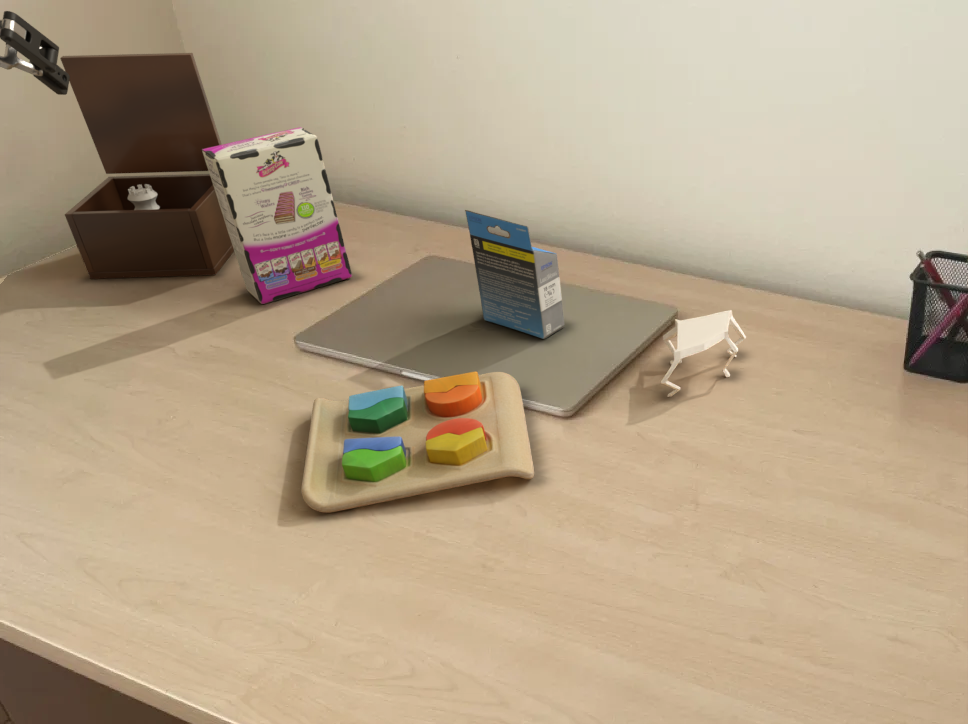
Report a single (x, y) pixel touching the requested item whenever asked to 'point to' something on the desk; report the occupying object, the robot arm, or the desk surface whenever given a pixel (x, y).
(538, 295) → the tape cartridge
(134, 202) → the rook chess piece
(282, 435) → the desk surface
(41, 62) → the robot arm
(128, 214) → the compartment
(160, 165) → the compartment lid
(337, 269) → the candy bar box
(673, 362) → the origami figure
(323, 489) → the puzzle board
